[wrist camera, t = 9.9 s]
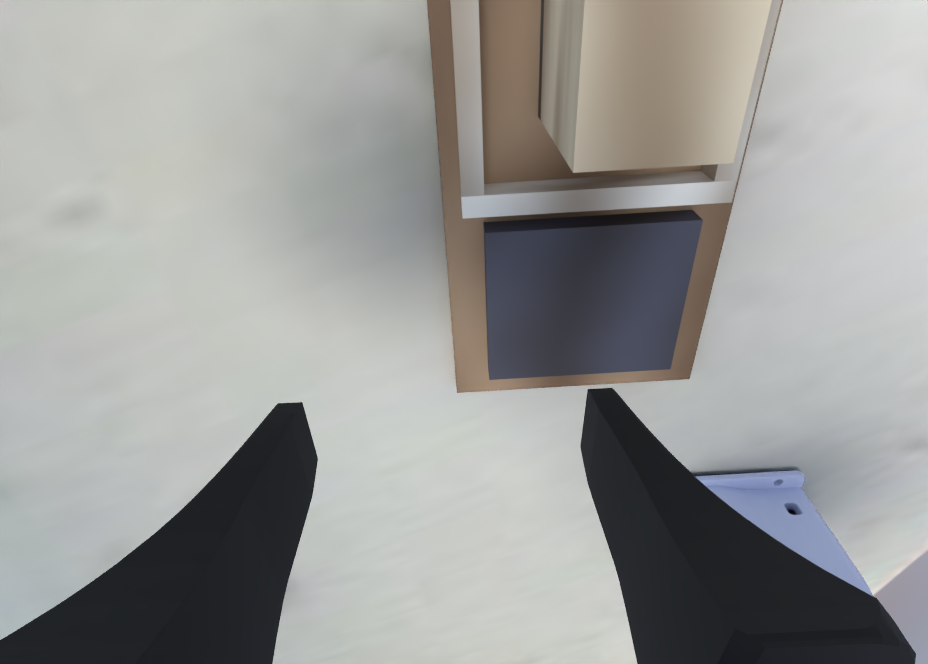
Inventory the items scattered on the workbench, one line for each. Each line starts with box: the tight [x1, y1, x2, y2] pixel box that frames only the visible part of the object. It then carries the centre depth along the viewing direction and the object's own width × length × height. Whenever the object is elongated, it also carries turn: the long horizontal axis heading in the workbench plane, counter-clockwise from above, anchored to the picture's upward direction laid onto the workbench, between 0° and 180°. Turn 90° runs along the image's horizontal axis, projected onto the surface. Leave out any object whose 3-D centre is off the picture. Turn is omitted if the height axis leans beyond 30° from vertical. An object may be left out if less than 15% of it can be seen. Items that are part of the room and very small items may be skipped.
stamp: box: [538, 0, 772, 173], centre depth 15 cm, size 4×4×6 cm
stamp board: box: [427, 0, 783, 393], centre depth 19 cm, size 11×19×2 cm, turn 3°
